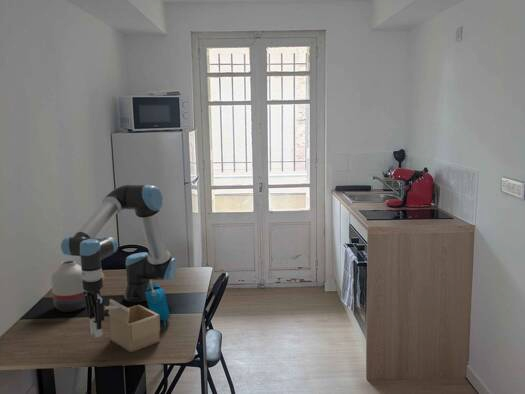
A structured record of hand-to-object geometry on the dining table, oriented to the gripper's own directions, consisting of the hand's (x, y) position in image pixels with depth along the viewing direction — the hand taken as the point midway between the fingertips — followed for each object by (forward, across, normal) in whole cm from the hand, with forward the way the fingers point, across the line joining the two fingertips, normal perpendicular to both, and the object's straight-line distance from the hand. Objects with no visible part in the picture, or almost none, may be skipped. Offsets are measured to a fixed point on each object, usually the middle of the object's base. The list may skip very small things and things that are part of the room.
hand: (96, 334), depth 206 cm
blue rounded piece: (+9, -10, +35) cm, 37 cm away
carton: (+9, 0, +17) cm, 19 cm away
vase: (+9, -56, +14) cm, 58 cm away
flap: (-7, 0, +11) cm, 13 cm away
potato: (+9, -77, +34) cm, 85 cm away
